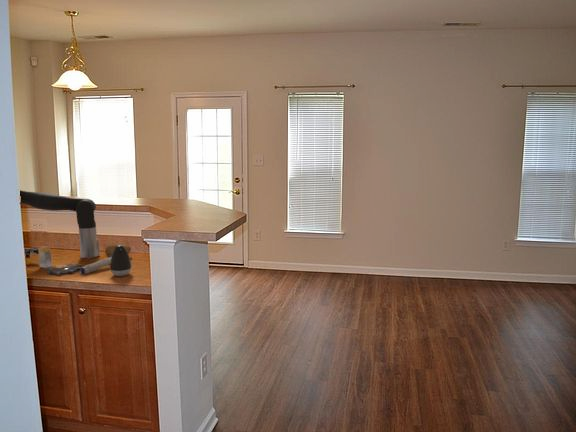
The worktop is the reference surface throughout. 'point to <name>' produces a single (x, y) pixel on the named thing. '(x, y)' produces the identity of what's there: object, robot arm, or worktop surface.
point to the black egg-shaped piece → (120, 261)
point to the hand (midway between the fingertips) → (35, 254)
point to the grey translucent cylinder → (44, 256)
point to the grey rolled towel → (94, 266)
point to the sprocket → (63, 269)
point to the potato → (112, 246)
